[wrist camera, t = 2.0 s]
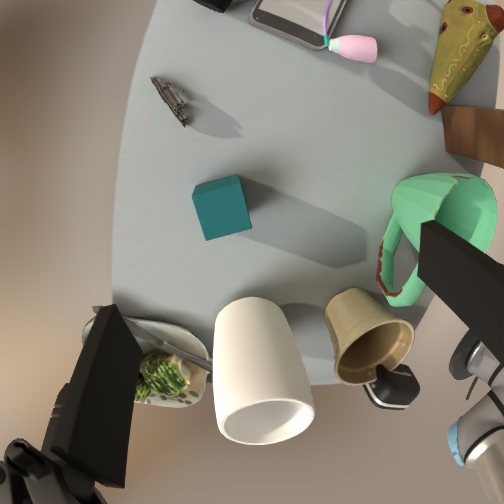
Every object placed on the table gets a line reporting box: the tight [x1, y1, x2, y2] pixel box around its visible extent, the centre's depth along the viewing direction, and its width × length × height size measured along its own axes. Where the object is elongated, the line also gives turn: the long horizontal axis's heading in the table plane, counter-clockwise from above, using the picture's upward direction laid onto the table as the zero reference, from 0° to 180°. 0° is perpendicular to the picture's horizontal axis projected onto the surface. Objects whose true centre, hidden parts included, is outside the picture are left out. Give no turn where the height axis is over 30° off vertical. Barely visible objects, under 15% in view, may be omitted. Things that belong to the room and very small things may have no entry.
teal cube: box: [192, 175, 252, 241], centre depth 25 cm, size 4×4×4 cm
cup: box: [213, 297, 315, 445], centre depth 26 cm, size 8×8×14 cm
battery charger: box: [363, 364, 420, 410], centre depth 32 cm, size 7×4×11 cm, turn 66°
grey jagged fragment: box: [150, 77, 197, 127], centre depth 21 cm, size 6×2×3 cm
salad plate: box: [82, 306, 213, 407], centre depth 32 cm, size 19×18×5 cm
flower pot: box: [325, 288, 415, 385], centre depth 30 cm, size 9×9×9 cm
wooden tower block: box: [441, 105, 504, 169], centre depth 20 cm, size 6×5×12 cm
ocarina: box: [429, 0, 504, 115], centre depth 16 cm, size 20×5×10 cm, turn 160°
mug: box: [376, 173, 497, 307], centre depth 25 cm, size 15×10×10 cm
